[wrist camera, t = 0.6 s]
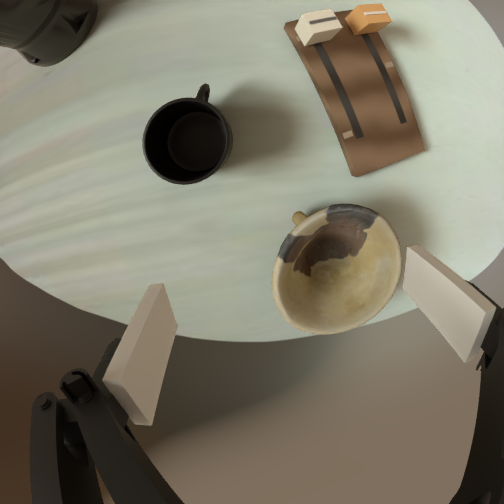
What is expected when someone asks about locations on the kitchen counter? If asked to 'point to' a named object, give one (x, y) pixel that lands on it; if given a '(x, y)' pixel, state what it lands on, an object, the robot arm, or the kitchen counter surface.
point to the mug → (187, 139)
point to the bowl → (336, 269)
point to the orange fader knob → (367, 18)
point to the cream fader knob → (317, 27)
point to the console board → (361, 97)
